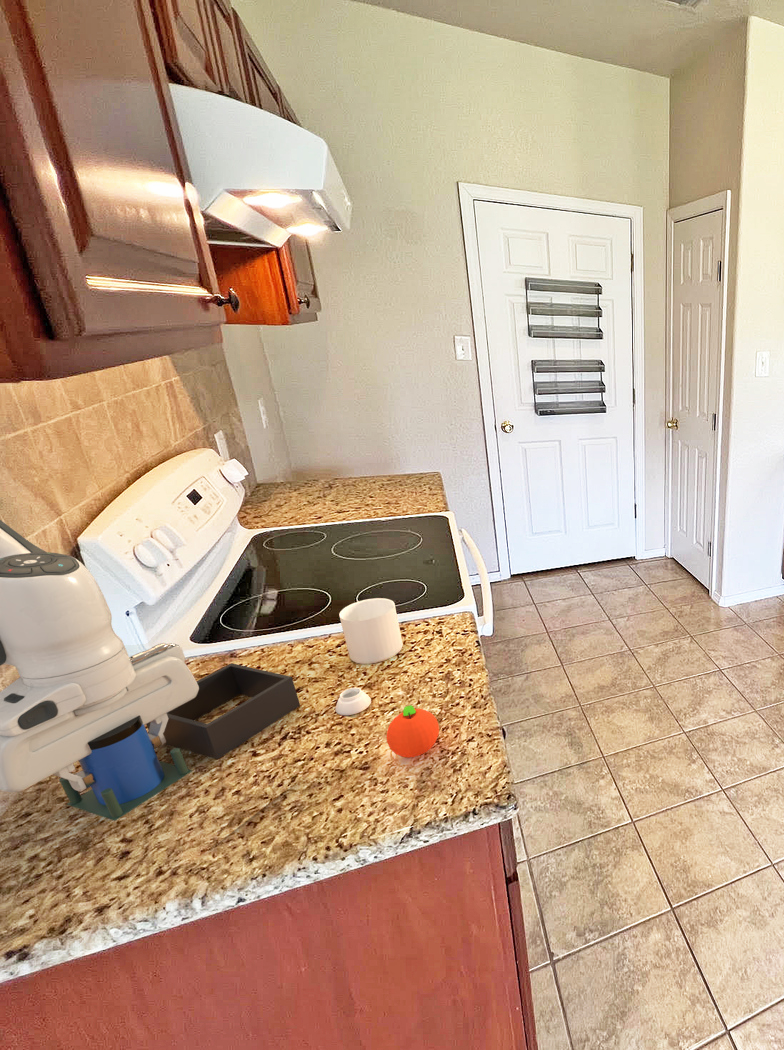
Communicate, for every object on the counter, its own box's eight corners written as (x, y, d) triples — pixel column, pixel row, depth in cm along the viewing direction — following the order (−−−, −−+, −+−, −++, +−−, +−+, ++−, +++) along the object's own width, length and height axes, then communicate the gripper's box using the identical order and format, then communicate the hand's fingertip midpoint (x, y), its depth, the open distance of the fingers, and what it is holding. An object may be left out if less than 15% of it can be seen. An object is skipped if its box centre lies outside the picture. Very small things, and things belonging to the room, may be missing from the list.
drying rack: (68, 809, 74) (53, 780, 73) (149, 762, 83) (137, 734, 81) (117, 826, 72) (103, 796, 71) (195, 775, 80) (184, 747, 79)
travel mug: (84, 799, 75) (53, 737, 71) (143, 764, 81) (117, 705, 77) (119, 811, 73) (90, 748, 70) (177, 774, 79) (152, 714, 76)
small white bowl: (378, 702, 97) (356, 695, 98) (375, 687, 95) (352, 681, 97) (352, 720, 92) (329, 713, 94) (348, 705, 91) (325, 698, 93)
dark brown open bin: (155, 746, 86) (139, 710, 83) (242, 695, 97) (231, 662, 95) (219, 764, 83) (205, 727, 80) (301, 710, 94) (291, 676, 92)
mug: (402, 658, 109) (393, 615, 105) (346, 668, 105) (335, 624, 102) (405, 628, 119) (397, 589, 116) (354, 637, 115) (345, 596, 112)
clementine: (388, 741, 88) (379, 703, 85) (437, 726, 91) (430, 689, 89) (393, 774, 82) (384, 734, 79) (445, 756, 85) (438, 717, 83)
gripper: (160, 633, 81) (190, 712, 86) (-55, 724, 62) (0, 819, 67) (193, 640, 79) (222, 720, 84) (-17, 735, 61) (36, 831, 66)
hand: (122, 765), depth 76 cm, fingers closed on travel mug, 6 cm apart
